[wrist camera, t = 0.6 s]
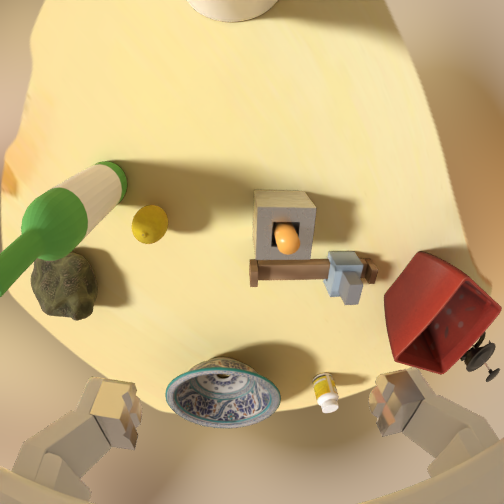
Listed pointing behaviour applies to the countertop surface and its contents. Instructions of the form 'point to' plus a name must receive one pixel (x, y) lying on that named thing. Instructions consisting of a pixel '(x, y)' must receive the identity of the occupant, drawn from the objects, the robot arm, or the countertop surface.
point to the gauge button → (286, 237)
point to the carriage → (344, 277)
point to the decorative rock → (65, 286)
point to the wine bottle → (62, 218)
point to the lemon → (149, 224)
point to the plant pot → (435, 314)
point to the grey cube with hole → (282, 210)
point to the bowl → (223, 394)
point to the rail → (301, 270)
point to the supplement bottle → (326, 392)
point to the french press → (480, 357)
